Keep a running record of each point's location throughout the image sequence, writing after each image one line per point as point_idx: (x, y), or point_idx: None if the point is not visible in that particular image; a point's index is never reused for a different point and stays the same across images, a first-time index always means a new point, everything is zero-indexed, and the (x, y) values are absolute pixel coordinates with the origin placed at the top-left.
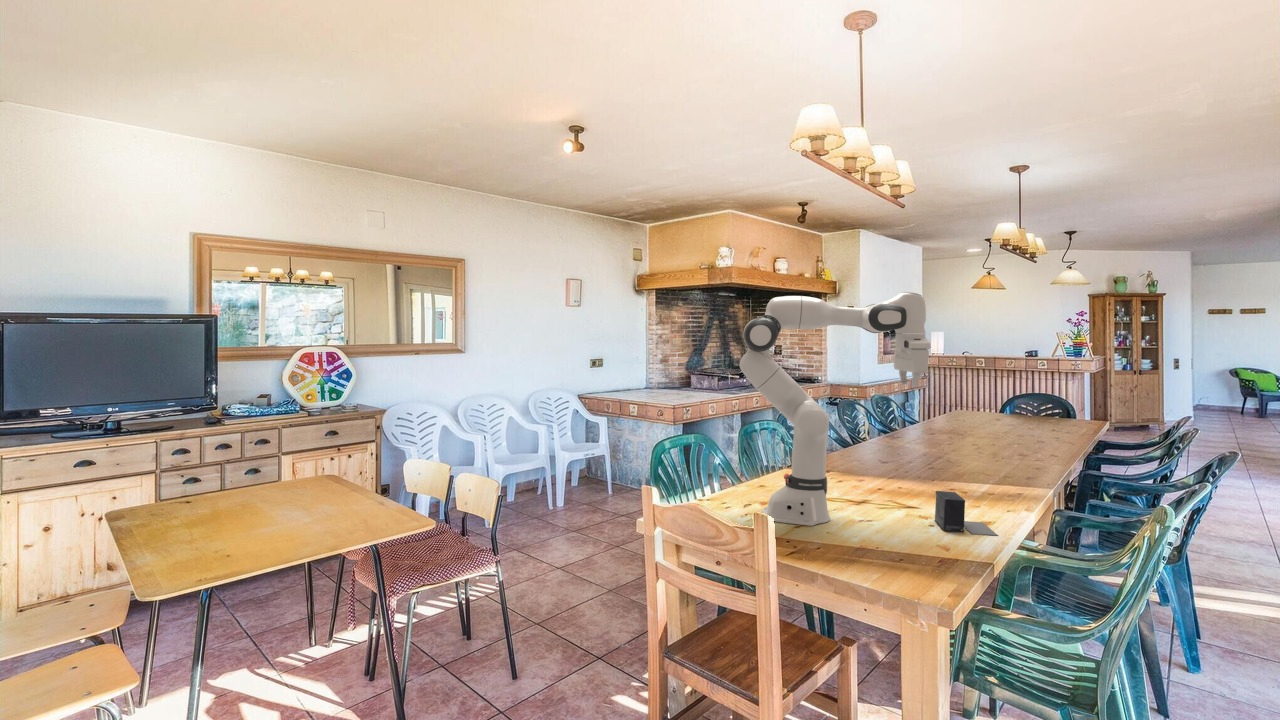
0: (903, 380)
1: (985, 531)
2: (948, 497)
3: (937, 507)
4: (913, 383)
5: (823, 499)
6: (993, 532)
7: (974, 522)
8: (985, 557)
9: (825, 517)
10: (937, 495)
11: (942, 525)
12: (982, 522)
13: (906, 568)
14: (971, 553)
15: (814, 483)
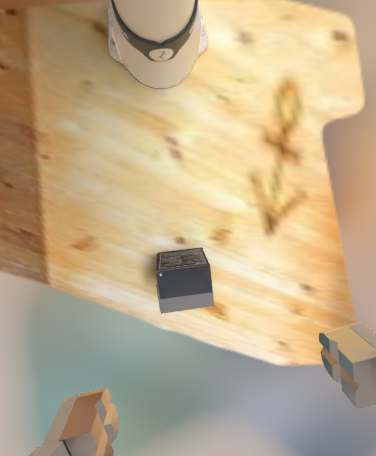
0: (342, 362)
1: (171, 302)
2: (166, 277)
3: (192, 257)
4: (55, 425)
5: (140, 58)
6: (170, 310)
7: (209, 296)
8: (66, 285)
9: (140, 77)
10: (197, 263)
11: (162, 254)
12: (212, 305)
13: None
14: (75, 272)
15: (114, 15)
